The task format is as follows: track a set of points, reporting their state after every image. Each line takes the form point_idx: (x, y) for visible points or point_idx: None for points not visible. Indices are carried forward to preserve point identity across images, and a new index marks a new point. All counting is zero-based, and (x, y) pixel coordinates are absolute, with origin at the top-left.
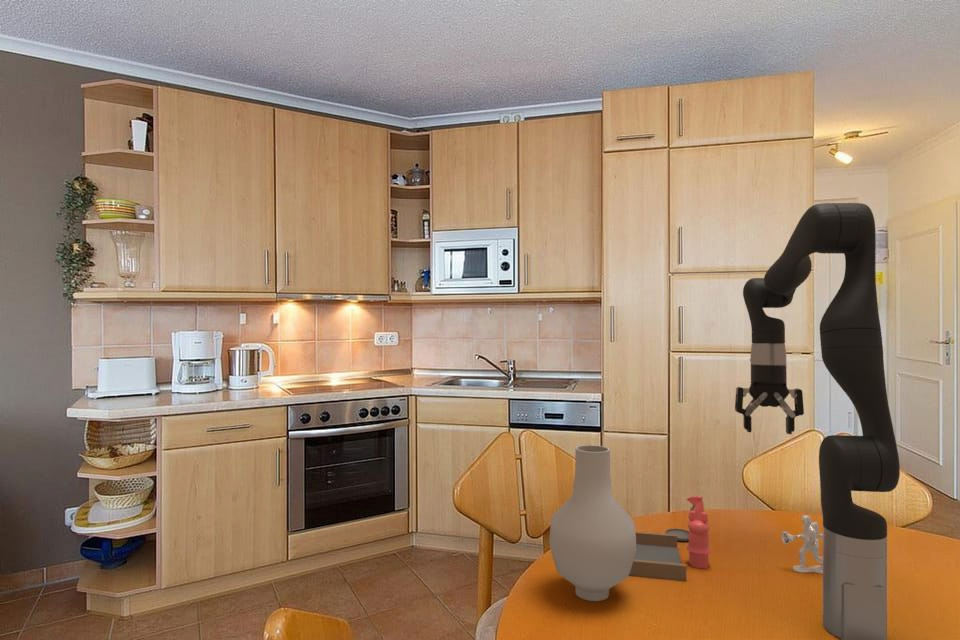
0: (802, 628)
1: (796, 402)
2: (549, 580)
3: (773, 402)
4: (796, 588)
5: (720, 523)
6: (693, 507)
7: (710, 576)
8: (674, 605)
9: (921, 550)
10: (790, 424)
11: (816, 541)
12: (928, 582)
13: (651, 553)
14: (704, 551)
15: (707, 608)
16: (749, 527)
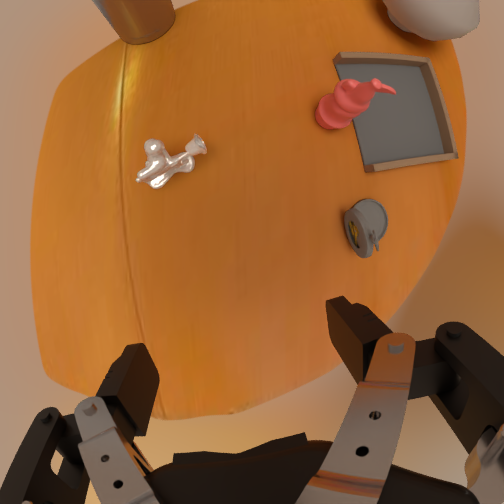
0: (197, 4)
1: (50, 480)
2: (439, 41)
3: (200, 484)
4: (193, 92)
5: (308, 323)
6: (371, 235)
7: (307, 82)
8: (328, 6)
9: (56, 329)
10: (118, 371)
11: (148, 160)
12: (46, 213)
13: (389, 127)
14: (327, 95)
15: (295, 7)
16: (263, 327)
